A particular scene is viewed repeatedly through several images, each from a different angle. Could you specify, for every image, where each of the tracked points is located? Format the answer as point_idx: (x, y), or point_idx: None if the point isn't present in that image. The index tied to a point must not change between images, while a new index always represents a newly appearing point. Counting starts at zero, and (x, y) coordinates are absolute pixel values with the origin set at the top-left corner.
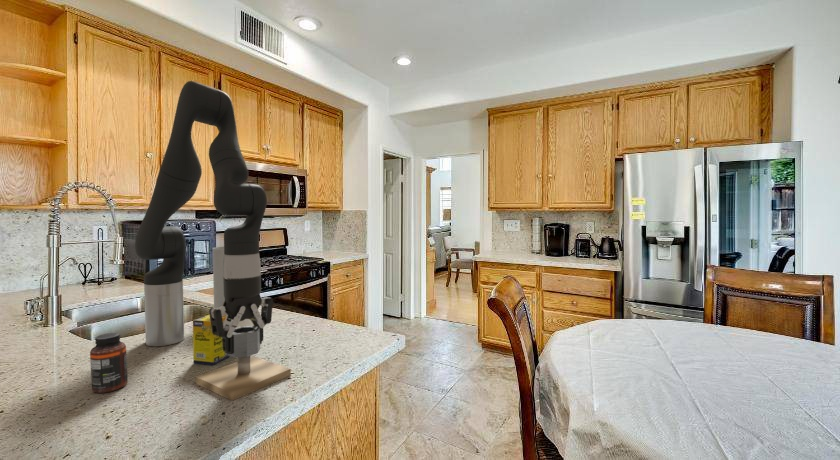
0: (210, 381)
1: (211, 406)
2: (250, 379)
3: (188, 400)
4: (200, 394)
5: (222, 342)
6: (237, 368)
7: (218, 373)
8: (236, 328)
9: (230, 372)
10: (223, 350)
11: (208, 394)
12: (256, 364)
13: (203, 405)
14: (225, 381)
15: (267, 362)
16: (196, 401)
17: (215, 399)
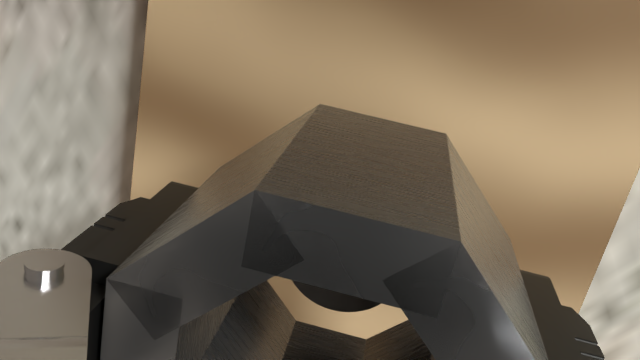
0: (157, 71)
1: (53, 243)
2: (292, 298)
3: (25, 69)
4: (100, 70)
5: (77, 237)
6: (408, 72)
7: (276, 4)
8: (322, 262)
9: (328, 79)
10: (134, 202)
11: (123, 117)
12: (528, 159)
13: (38, 197)
14: (205, 167)
15: (593, 215)
16: (42, 124)
17: (107, 204)
